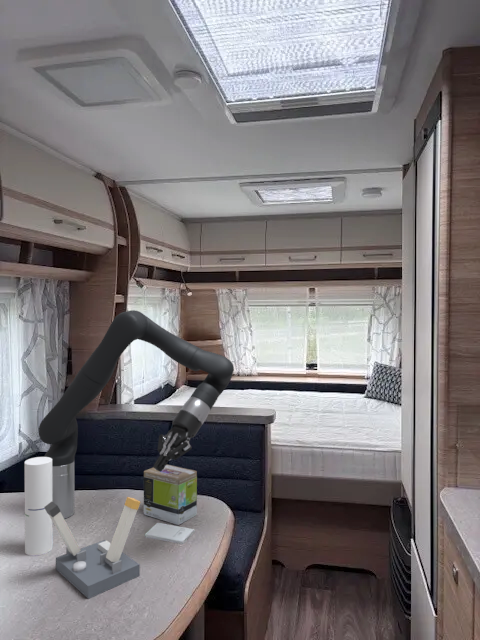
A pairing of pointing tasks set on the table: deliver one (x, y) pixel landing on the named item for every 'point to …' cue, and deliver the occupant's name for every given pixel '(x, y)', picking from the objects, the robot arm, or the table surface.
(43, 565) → the table surface
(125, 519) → the amber lever
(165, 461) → the robot arm
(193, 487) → the tea box
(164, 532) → the external hard drive
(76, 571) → the switch panel
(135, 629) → the table surface
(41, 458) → the cylindrical container
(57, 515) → the black lever
